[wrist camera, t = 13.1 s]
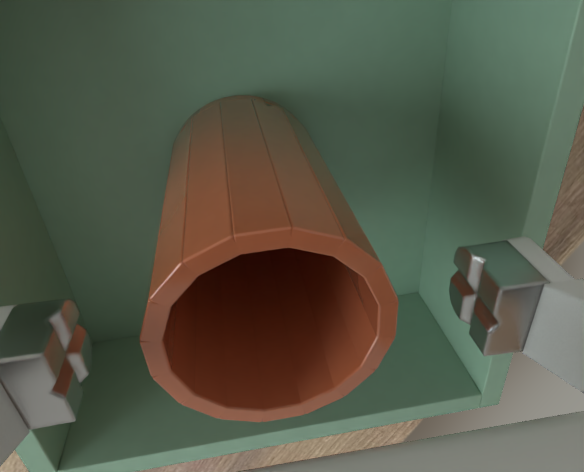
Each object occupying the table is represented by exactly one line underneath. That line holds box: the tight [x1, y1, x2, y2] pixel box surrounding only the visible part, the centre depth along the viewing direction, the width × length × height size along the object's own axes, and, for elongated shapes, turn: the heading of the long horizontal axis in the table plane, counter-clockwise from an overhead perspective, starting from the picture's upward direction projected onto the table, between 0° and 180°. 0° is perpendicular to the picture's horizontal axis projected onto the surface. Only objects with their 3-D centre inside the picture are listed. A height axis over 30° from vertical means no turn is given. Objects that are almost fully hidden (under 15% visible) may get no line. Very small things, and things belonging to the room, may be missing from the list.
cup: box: [139, 95, 399, 422], centre depth 13 cm, size 5×5×9 cm
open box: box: [0, 0, 584, 472], centre depth 15 cm, size 17×17×7 cm
